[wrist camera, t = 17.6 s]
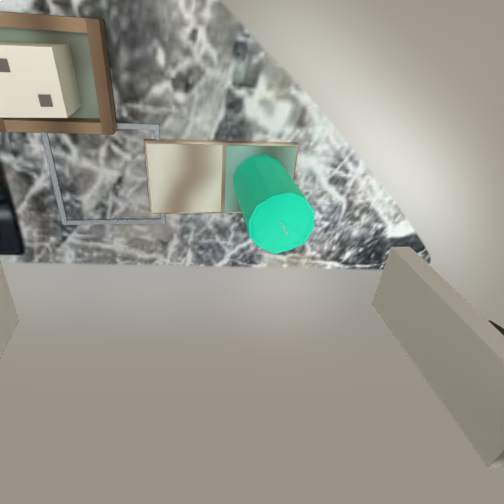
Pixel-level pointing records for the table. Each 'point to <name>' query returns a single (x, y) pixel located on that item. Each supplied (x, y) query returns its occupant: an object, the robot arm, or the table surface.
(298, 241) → the candle
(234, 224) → the table surface
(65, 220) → the pad
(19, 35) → the tray
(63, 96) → the die
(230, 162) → the beige green flat slab
